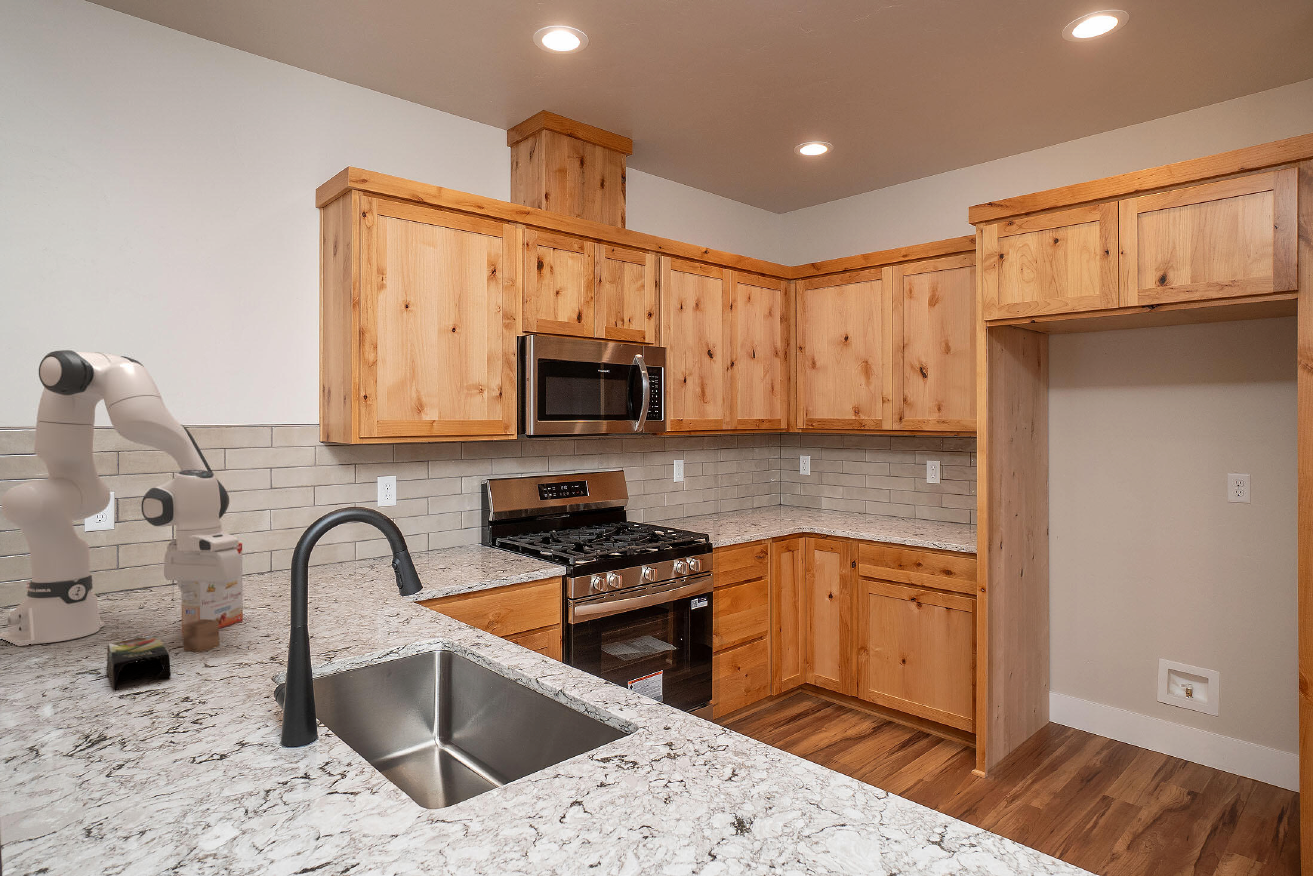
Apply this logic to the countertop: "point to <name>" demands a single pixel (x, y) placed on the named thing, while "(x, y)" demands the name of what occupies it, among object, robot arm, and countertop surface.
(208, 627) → the walnut block
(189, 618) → the cracker box
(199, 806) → the countertop surface
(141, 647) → the black open-ended box
